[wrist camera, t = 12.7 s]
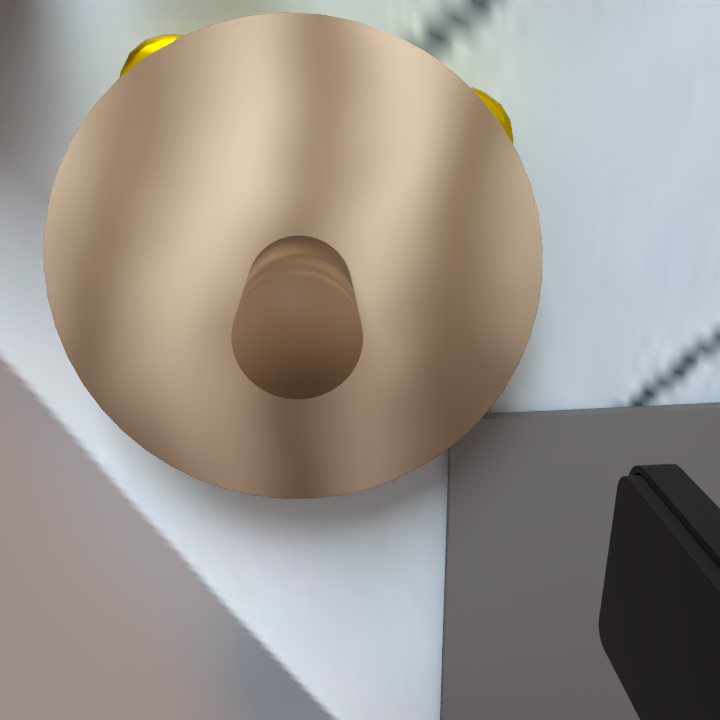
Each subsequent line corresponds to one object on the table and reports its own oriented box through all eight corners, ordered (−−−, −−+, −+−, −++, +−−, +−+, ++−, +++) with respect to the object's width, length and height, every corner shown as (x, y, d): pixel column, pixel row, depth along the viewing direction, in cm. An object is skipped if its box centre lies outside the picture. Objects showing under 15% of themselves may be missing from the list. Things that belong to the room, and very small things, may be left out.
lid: (555, 10, 24) (641, -17, 18) (520, 476, 31) (574, 574, 25) (3, 19, 23) (-110, -7, 17) (94, 500, 30) (38, 608, 24)
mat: (866, 395, 36) (875, 400, 36) (780, 708, 44) (786, 716, 44) (450, 415, 35) (452, 421, 34) (439, 734, 43) (441, 742, 42)
